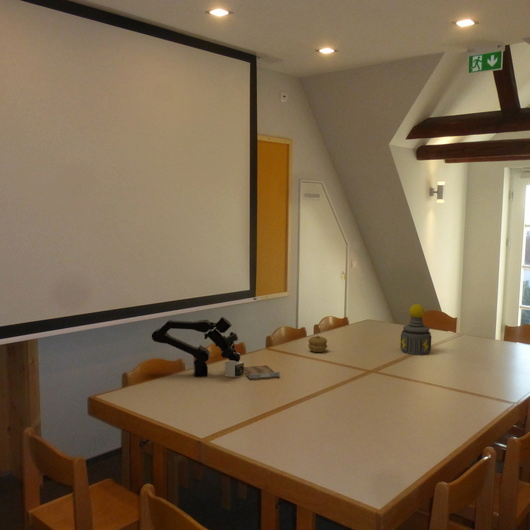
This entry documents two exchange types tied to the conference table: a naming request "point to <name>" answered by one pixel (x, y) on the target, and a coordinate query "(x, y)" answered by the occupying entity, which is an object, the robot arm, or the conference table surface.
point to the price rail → (264, 375)
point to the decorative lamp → (416, 334)
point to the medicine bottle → (234, 367)
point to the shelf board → (258, 371)
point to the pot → (317, 344)
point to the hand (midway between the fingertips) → (239, 359)
